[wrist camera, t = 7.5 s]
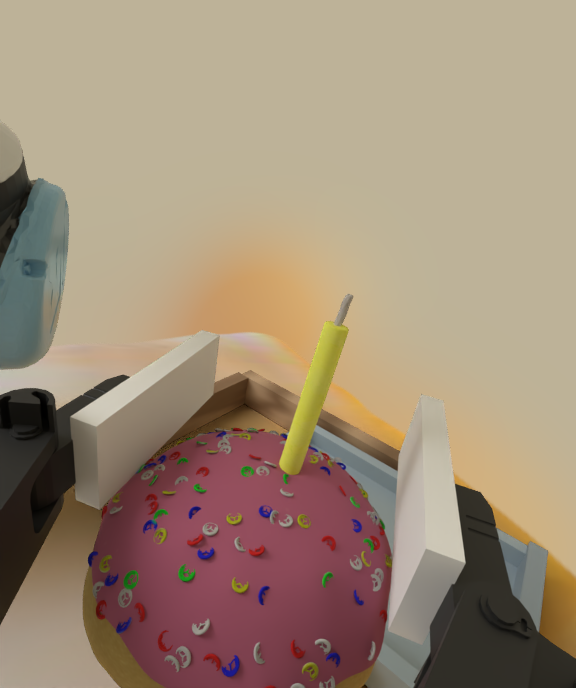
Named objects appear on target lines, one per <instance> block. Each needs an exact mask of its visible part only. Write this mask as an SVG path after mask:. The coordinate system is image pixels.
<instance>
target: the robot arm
mask: <svg viewBox="0 0 576 688" xmlns="http://www.w3.org/2000/svg"><path fill="white" fill-rule="evenodd" d="M68 235H69V214H68V205H67V201H66V197H65V193H64V191H63V190H62V189H61V188H60V187H58V186H56V185H53V184H50V183H48V182H47V181H45V180H44V179H40V178H38V180H32V181H30V180H29V178H28V175H27V171H26V166H25V162H24V157H23V151H22V148H21V144H20V141H19V139H18V137H17V136H16V134H15V133H14V132H13V131H12V130H11V129H10V128H9V127H8V126H7V125H5V124H4V123H3V122H1V121H0V370H3V369H20V368H25V367H28V366H30V365H32V364H35V363H36V362H38V361H39V360H40V359H41V358H43V357H44V356H45V354H46V353H47V352H48V350H49V348H50V346H51V344H52V341H53V338H54V334H55V331H56V327H57V323H58V318H59V313H60V308H61V300H62V295H63V289H64V281H65V272H66V263H67V252H68ZM219 337H220V335H217V334H214V333H210V332H207V331H203V330H202V331H200V332H198V333H197V334H195V335H194V336H192V337H191V338H189V339H188V340H186V341H185V342H183V343H182V344H180V345H179V346H177V347H176V348H174V349H173V350H171V351H169V352H168V353H166V354H165V355H163V356H162V357H160V358H159V359H157V360H156V361H154V362H153V363H151V364H150V365H148V366H147V367H145V368H144V369H142V370H141V371H139V372H138V373H136V374H134V375H133V376H131V377H128V376H125V375H120V376H117V377H113V378H110V379H107V380H105V381H104V382H102V383H100V384H99V385H97V386H95V387H94V389H90V390H89V391H87V392H86V393H84V395H83V396H82V395H81V396H79V397H77V398H76V399H74V400H73V401H71V402H69V403H68V404H66V405H64V406H63V407H61V408H60V409H58V410H56V406H55V398H54V396H53V394H52V393H50V392H48V391H46V390H42V389H37V388H24V389H19V390H13V391H10V392H7V393H5V394H2V395H0V624H1V623H2V621H3V619H4V617H5V615H6V613H7V611H8V609H9V607H10V605H11V604H12V602H13V600H14V598H15V596H16V594H17V592H18V590H19V588H20V586H21V585H22V583H23V581H24V579H25V577H26V575H27V573H28V571H29V569H30V568H31V566H32V564H33V562H34V560H35V558H36V556H37V554H38V552H39V550H40V549H41V547H42V545H43V543H44V541H45V539H46V537H47V535H48V533H49V532H50V530H51V528H52V526H53V524H54V522H55V520H56V518H57V516H58V514H59V513H60V511H61V509H62V506H63V502H64V498H63V493H65V492H66V491H67V490H68V489H69V488H70V487H72V486H73V485H74V484H75V497H76V500H77V501H79V502H82V503H84V504H87V505H89V506H91V507H94V508H96V509H99V510H100V509H101V508H102V507H103V506H104V505H105V504H106V503H107V502H108V501H109V500H110V499H111V498H112V497H113V496H114V495H115V494H116V493H117V492H118V491H119V490H120V489H121V488H122V487H123V486H124V485H125V484H126V483H127V482H128V481H129V480H130V478H131V477H132V476H133V475H134V474H135V473H136V472H137V471H138V470H139V469H140V468H141V467H142V465H143V464H145V463H146V462H147V461H148V460H149V459H150V458H151V457H152V456H153V455H154V454H155V453H156V452H157V451H158V450H159V449H160V448H161V447H162V446H163V445H164V444H165V443H166V442H167V441H168V440H169V439H170V438H171V437H172V436H173V435H174V434H175V433H176V432H177V431H178V430H179V429H180V428H181V427H182V426H183V425H184V424H185V423H186V422H187V421H188V420H189V419H190V418H191V417H192V416H193V415H194V414H195V413H196V412H197V411H198V410H199V409H200V408H201V407H202V405H203V404H204V403H205V402H206V401H207V400H208V399H209V398H210V397H211V396H212V395H213V391H214V382H215V373H216V364H217V355H218V346H219ZM495 526H496V523H495V519H494V515H493V511H492V508H491V507H490V505H489V504H488V502H487V501H486V499H485V498H484V497H483V495H482V494H481V492H478V491H475V490H472V489H469V488H466V487H463V486H460V485H457V484H455V482H454V475H453V467H452V460H451V453H450V445H449V439H448V431H447V423H446V416H445V409H444V401H443V400H439V399H436V398H432V397H429V396H426V395H422V394H421V396H420V399H419V401H418V404H417V407H416V410H415V412H414V415H413V418H412V420H411V423H410V426H409V429H408V431H407V434H406V437H405V439H404V442H403V445H402V448H401V450H400V453H399V458H398V475H397V491H396V508H395V524H394V541H393V557H392V574H391V590H390V607H389V623H388V631H389V632H392V633H394V634H397V635H399V636H401V637H404V638H406V639H409V640H411V641H413V642H416V643H418V644H420V645H422V644H423V642H424V640H425V638H426V636H427V635H428V633H429V631H430V654H429V656H428V657H427V659H426V661H425V663H424V665H423V666H422V668H421V670H420V672H419V673H418V675H417V677H416V679H415V681H414V683H415V685H414V687H413V688H576V659H575V658H574V657H572V656H571V655H569V654H568V653H566V652H565V651H563V650H562V649H560V648H559V647H557V646H556V645H554V644H553V643H551V642H550V641H549V640H548V639H546V638H545V637H544V636H542V635H541V634H540V633H539V632H538V631H537V630H536V626H535V624H534V622H533V619H532V617H531V615H530V613H529V612H528V611H527V609H526V608H525V607H524V606H523V604H522V603H521V602H520V600H518V599H517V598H516V597H515V596H514V595H513V593H512V589H511V585H510V581H509V577H508V573H507V569H506V565H505V561H504V556H503V552H502V548H501V544H500V542H499V536H498V532H497V528H495Z"/></svg>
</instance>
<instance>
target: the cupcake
mask: <svg viewBox="0 0 576 688" xmlns="http://www.w3.org/2000/svg"><path fill="white" fill-rule="evenodd" d="M352 299H353V295H350V294H347V295H346V296H345V298H344V300H343V302H342V304H341V308H340V310H339V313H338V316H337V318H336V320H335V322H331V321H326V322H325V323H324V326H323V329H322V332H321V335H320V338H319V342H318V345H317V348H316V351H315V354H314V357H313V360H312V363H311V366H310V369H309V372H308V375H307V379H306V382H305V385H304V388H303V391H302V394H301V397H300V400H299V403H298V406H297V409H296V412H295V416H294V419H293V422H292V425H291V428H290V431H289V434H288V435H287V434H285V433H281V434H280V436H279V434H278V433H277V432H275V431H270V433H269V432H268V433H267V432H263V431H264V430H265V429H261V430H256V429H254V428H248V429H247V430H242V429H239V428H231V430H232V431H229V430H225V429H223V430H222V429H219V428H216V429H215V431H216V432H209V433H207V434H206V433H200V434H198V435H197V436H196V437H195V438H187V439H186V440H187V441H178V442H177V444H176V446H175V447H173V448H171V449H169V450H167V451H166V452H164V453H163V454H161V455H160V456H158V457H157V458H155V459H149V460H148V461H149V462H146V463H145V464H143V465H142V467H141V468H140V469H139V470H138V471H137V472H136V473H135V475H134V476H133V477H131V478H130V480H129V481H128V482H127V483H126V484H125V485H124V486H123V487H122V488H121V489H120V490H119V491H118V492H117V493H116V494H115V495H114V496H113V497H112V498H111V500H110V502H109V503H108V505H107V506H104V508H103V511H102V522H101V526H100V529H99V532H98V535H97V539H96V542H95V545H94V550H93V552H92V553H91V554H90V555H89V557H88V564H89V568H88V571H87V575H86V580H85V585H84V591H83V620H84V626H85V630H86V633H87V636H88V639H89V642H90V645H91V648H92V650H93V653H94V655H95V657H96V658H97V660H98V661H99V663H100V664H101V665H102V667H103V668H104V669H105V670H106V671H107V672H108V674H109V675H110V676H111V677H112V678H113V680H114V681H115V682H116V683H117V684H118V685H119V686H120V687H121V688H361V687H362V686H363V685H364V684H365V683H366V681H367V680H368V678H369V676H370V674H371V672H372V670H373V667H374V664H375V661H376V660H377V658H378V656H379V654H380V651H381V648H382V644H383V639H384V633H385V627H386V621H387V617H388V615H387V609H388V600H389V593H390V588H391V574H392V557H393V555H392V553H391V549H390V545H389V542H388V539H387V536H386V533H385V531H384V529H385V525H384V523H383V521H382V520H381V519H380V518H379V515H378V514H377V512H376V510H375V508H374V507H373V506H371V504H370V503H369V501H368V500H369V497H368V493H367V492H366V491H365V490H363V486H362V485H361V483H359V482H356V481H355V479H354V478H353V477H352V476H351V475H349V473H348V472H347V471H346V470H345V469H346V466H345V465H344V464H343V463H342V460H341V458H339V457H336V458H332V457H330V456H329V455H327V453H325V452H324V453H322V451H319V452H318V450H317V449H316V448H313V447H311V446H310V445H309V444H310V441H311V439H312V436H313V433H314V430H315V427H316V424H317V421H318V418H319V415H320V412H321V410H322V407H323V404H324V401H325V398H326V395H327V392H328V389H329V386H330V384H331V381H332V378H333V375H334V372H335V369H336V366H337V363H338V360H339V358H340V355H341V352H342V349H343V346H344V343H345V340H346V337H347V334H348V331H349V330H348V328H347V327H345V326H344V325H342V323H343V321H344V319H345V317H346V314H347V311H348V308H349V305H350V303H351V301H352ZM218 430H220V431H218ZM180 443H181V444H180ZM336 460H338V461H339V462H338V461H337V463H336ZM341 465H342V466H343V467H342V466H341ZM357 484H358V486H357ZM359 486H360V487H361V488H360V487H359ZM363 492H364V493H363Z"/></svg>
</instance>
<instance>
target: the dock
mask: <svg viewBox="0 0 576 688" xmlns="http://www.w3.org/2000/svg"><path fill="white" fill-rule="evenodd" d="M299 400H300V397H299V396H297V395H295V394H293V393H291V392H289V391H288V390H286V389H284V388H282V387H280V386H278V385H277V384H275V383H273V382H271V381H269V380H267V379H266V378H264V377H262V376H260V375H258V374H256V373H255V372H253V371H251V370H250V371H248V372H245V373H243V374H241V373H239V372H238V373H236V374H234V375H231V376H229V377H227V378H224V379H222V380H220V381H217V382H215V383H214V391H213V395H212V396H211V397H210V398H209V399H208V400H207V401H206V402H205V403H204V404H203V405H202V407H201V408H200V409H199V410H198V411H197V412H196V413H195V414H194V415H193V416H192V417H191V418H190V419H189V420H188V421H187V422H186V423H185V424H184V425H183V426H182V427H181V428H180V429H179V430H178V431H177V432H176V433H175V434H174V435H173V436H172V437H171V438H170V439H169V440H168V441H167V442H166V443H165V444H164V445H163V446H162V447H164V446H166V445H168V444H170V443H171V442H173V441H175V440H177V439H179V438H181V437H183V436H185V435H187V434H188V433H190V432H192V431H194V430H196V429H198V428H200V427H202V426H204V425H205V424H207V423H209V422H211V421H213V420H215V419H217V418H219V417H221V416H222V415H224V414H226V413H228V412H230V411H232V410H234V409H236V408H237V407H239V406H241V405H243V404H245V405H247V406H249V407H250V408H252V409H254V410H255V411H257V412H259V413H260V414H262V415H264V416H265V417H267V418H269V419H270V420H272V421H273V422H275V423H277V424H278V425H280V426H282V427H283V428H285V429H287V430H288V431H290V428H291V425H292V422H293V419H294V416H295V412H296V409H297V406H298V403H299ZM316 425H317V426H319V427H321V428H323V429H324V430H326V431H328V432H330V433H331V434H333V435H335V436H337V437H338V438H340V439H342V440H344V441H345V442H347V443H349V444H351V445H352V446H354V447H356V448H358V449H359V450H361V451H363V452H365V453H366V454H368V455H370V456H372V457H373V458H375V459H377V460H379V461H380V462H382V463H384V464H386V465H387V466H389V467H391V468H393V469H394V470H396V471H398V458H399V453H400V451H398V450H396V449H394V448H393V447H391V446H389V445H387V444H385V443H383V442H381V441H380V440H378V439H376V438H374V437H372V436H370V435H369V434H367V433H365V432H363V431H361V430H359V429H358V428H356V427H354V426H352V425H350V424H348V423H347V422H345V421H343V420H341V419H339V418H337V417H335V416H334V415H332V414H330V413H328V412H326V411H324V410H323V409H322V410H321V412H320V415H319V418H318V421H317V424H316ZM162 447H161V448H162ZM134 475H135V474H134ZM134 475H133V476H134ZM133 476H132V477H133Z"/></svg>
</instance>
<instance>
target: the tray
mask: <svg viewBox="0 0 576 688" xmlns="http://www.w3.org/2000/svg"><path fill="white" fill-rule="evenodd" d="M286 434H287V435H288V434H289V432H288V433H286ZM309 445H310V446H311V447H313V448H316V449H317V450H318V452H319V451H322V453H324V452H325V453H327V455H329V456H330V457H332V458H336V457H339V458H341V460H342V463H343V464H344V465H345V466H346V469H345V470H346V471H347V472H348V473H349V475H351V476H352V477H353V478H354V479H355V481H356V482H359V483H361V485H362V486H363V490H365V491H366V492H367V493H368V497H369V500H368V501H369V503H370V504H371V506H373V507H374V508H375V510H376V512H377V514H378V515H379V518H380V519H381V520H382V521H383V523H384V525H385V529H384V531H385V533H386V536H387V539H388V542H389V545H390V549H391V553H392V555H393V541H394V524H395V508H396V491H397V475H398V471H396V470H394V469H393V468H391V467H389V466H387V465H386V464H384V463H382V462H380V461H379V460H377V459H375V458H373V457H372V456H370V455H368V454H366V453H365V452H363V451H361V450H359V449H358V448H356V447H354V446H352V445H351V444H349V443H347V442H345V441H344V440H342V439H340V438H338V437H337V436H335V435H333V434H331V433H330V432H328V431H326V430H324V429H323V428H321V427H319V426H317V425H316V427H315V430H314V433H313V436H312V439H311V441H310V444H309ZM337 461H338V460H336V463H337ZM338 462H339V461H338ZM341 466H342V465H341ZM342 467H343V466H342ZM357 486H358V484H357ZM359 487H360V486H359ZM360 488H361V487H360ZM363 493H364V492H363ZM495 528H496V527H495ZM497 532H498V536H499V542H500V544H501V548H502V552H503V556H504V561H505V565H506V569H507V573H508V577H509V581H510V585H511V589H512V593H513V595H514V596H515V597H516V598H517V599H518V600H520V602H521V603H522V604H523V606H524V607H525V608H526V609H527V611H528V612H529V613H530V615H531V617H532V619H533V622H534V624H535V626H536V630H537V631H538V632H539V627H540V618H541V609H542V601H543V592H544V583H545V574H546V565H547V556H548V551H547V550H545V549H544V548H542V547H540V546H538V545H536V544H535V543H533V542H531V541H530V542H529V544H528V545H526V544H524V543H522V542H520V541H519V540H517V539H515V538H513V537H512V536H510V535H508V534H506V533H505V532H503V531H501V530H499V529H498V528H497ZM390 590H391V588H390ZM389 607H390V593H389V600H388V609H387V615H388V617H387V621H386V627H385V633H384V639H383V644H382V648H381V651H380V654H379V656H378V658H377V660H376V661H375V664H374V667H373V670H372V672H371V674H370V676H369V678H368V680H367V681H366V683H365V685H366V686H367V687H369V688H413V687H414V685H415V683H414V681H415V679H416V677H417V675H418V673H419V672H420V670H421V668H422V666H423V665H424V663H425V661H426V659H427V657H428V656H429V654H430V631H429V633H428V635H427V636H426V638H425V640H424V642H423V644H422V645H420V644H418V643H416V642H413V641H411V640H409V639H406V638H404V637H401V636H399V635H397V634H394V633H392V632H389V631H388V623H389Z"/></svg>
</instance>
